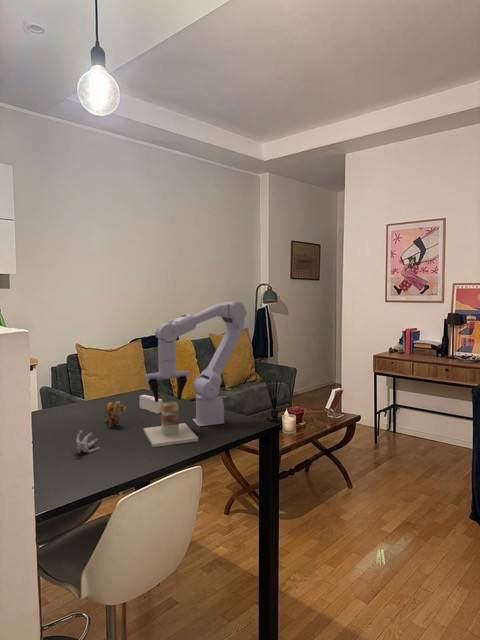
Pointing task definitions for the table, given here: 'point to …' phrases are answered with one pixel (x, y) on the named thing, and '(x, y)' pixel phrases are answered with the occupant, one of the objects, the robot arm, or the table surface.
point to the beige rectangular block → (150, 403)
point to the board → (170, 435)
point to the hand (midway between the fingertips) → (167, 400)
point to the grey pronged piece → (85, 444)
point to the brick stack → (169, 413)
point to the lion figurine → (114, 412)
